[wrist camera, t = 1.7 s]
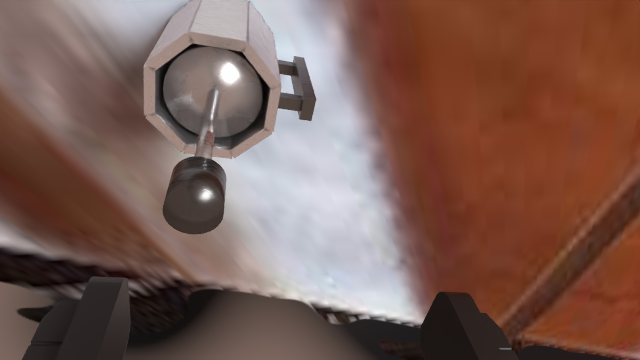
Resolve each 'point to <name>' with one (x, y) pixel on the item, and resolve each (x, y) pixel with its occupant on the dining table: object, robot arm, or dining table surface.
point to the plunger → (206, 129)
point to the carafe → (234, 34)
